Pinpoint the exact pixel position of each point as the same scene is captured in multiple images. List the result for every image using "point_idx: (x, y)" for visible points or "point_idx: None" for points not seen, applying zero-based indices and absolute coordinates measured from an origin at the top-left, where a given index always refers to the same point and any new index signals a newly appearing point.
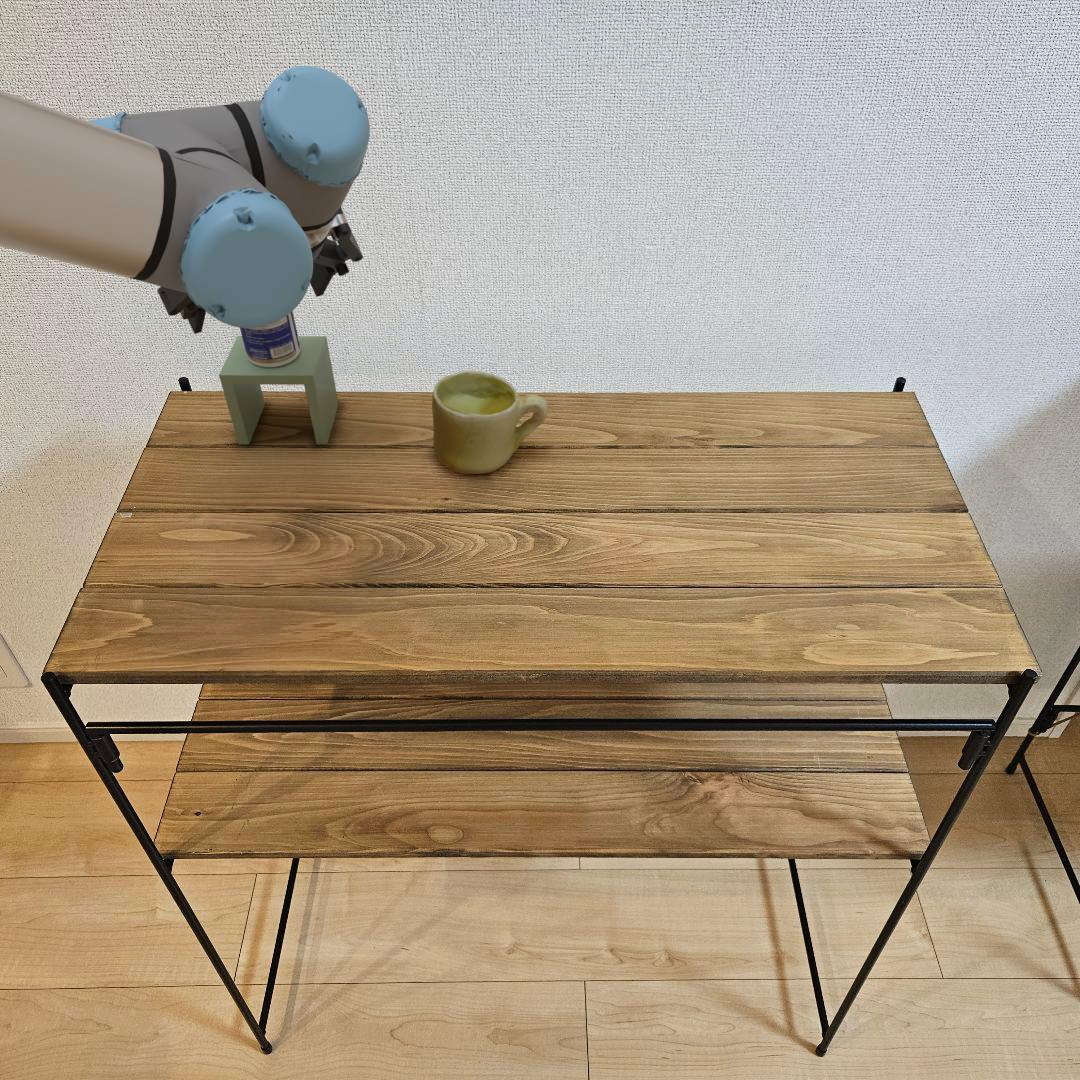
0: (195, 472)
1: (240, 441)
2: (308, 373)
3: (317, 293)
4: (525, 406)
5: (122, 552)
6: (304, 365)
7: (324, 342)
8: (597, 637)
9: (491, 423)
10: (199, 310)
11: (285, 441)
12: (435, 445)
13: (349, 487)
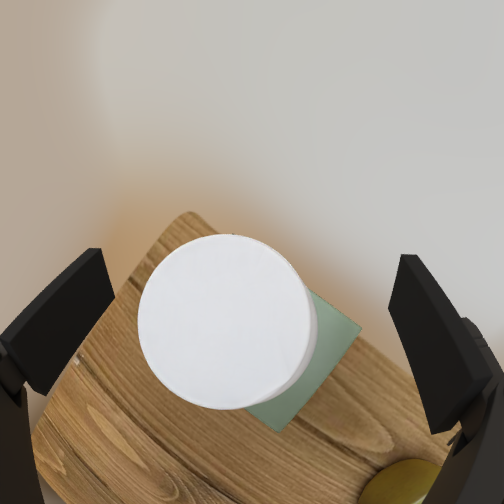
0: (138, 348)
1: None
2: (275, 425)
3: (393, 317)
4: None
5: (62, 399)
6: (282, 397)
7: (350, 345)
8: None
9: None
10: (34, 388)
11: None
12: (364, 502)
13: (259, 478)
